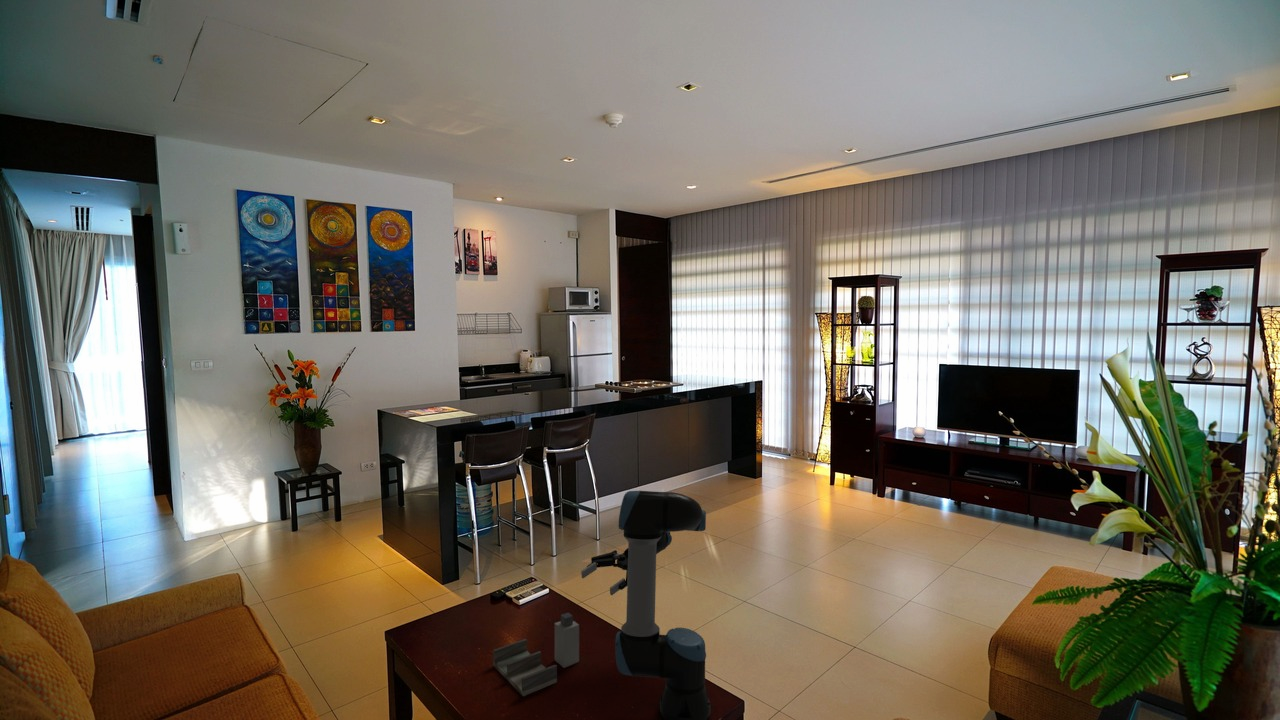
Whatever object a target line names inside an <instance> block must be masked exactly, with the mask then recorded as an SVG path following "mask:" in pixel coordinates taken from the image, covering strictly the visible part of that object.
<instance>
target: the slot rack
mask: <svg viewBox="0 0 1280 720" xmlns="http://www.w3.org/2000/svg"><path fill="white" fill-rule="evenodd" d="M492 656H493V661H492V662H493V663H492V665H493V667H494V668H495V669H496V670H497V671H498V673H500V674H501V675H502V676H503V677H504V678H505V679H506V680H507V681H508V683H509V684H510V685H511V686H513V688H514V689H515V690H516V691H517V692H518V693H519V694H520V695H521V696H522V697H526V696H528V695H530V694H533V693H536V692H537V691H539V690H542V689H544V688H547V687H549V686H551V685H553V684H554V685H555V684H557V682H558V665H557V664H553V665H550V666H548V667H546V666H545V665H543V664H542V652H541V651H540V650H539V651H536V652H533V653H530V652H529V651H528V639H527V638H524V639H520V640H517V641H515V642H512V643H509V644H507V645H504V646H501V647H498V648H495V649H493V655H492Z"/></svg>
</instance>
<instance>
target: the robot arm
mask: <svg viewBox="0 0 1280 720" xmlns="http://www.w3.org/2000/svg"><path fill="white" fill-rule="evenodd" d="M620 506H621V507H620V509H619V515H618V529H619V530H620V531H623V537H624V539H625V540H626V541H627V542H628V544H627V545H628V547H627V548H626V549H624V550H623V553H618V551H617V549H616V550H613V551H610V552H606V553H603V554H599V555H596V556H592V557H591V558H590V560H591V562H590V563H589V564H588V565H586V567H585V568H583V569H582V570H581V579H585V578H586V577H588V576H589V575H591V574H593V573H594V572H595V571H598V570H597V569H598V568H607V567H613V568H619V569H621V570H622V571H626V572H625V573H626V574H625V578H624V577H623V578H622V579H619V581H617V582H616V583H614V584H613V585H612V586H610V587H609V595H610V596H614V595H615V594H616V593H617V592H619V591H622V590H624V589H625V588H626V587H627V588H626V590H627V591H626V618H625V619H626V622H625V623H623V624H622V625H621V627H620V628H621V629H620V631H617V633H616V635H615V641H614V643H615V647H614V650H615V651H614V652H615V661H616V662H615V663H616V667H617V669H618V671H619V673H620V674H622V675H623V676H631V677H632V678H633V677H634V678H635V677H644V678H657V679H660V678H661V679H665V686H664V688H663V692H662V696H661V697H660V700H659V714H660V716H661V717H662V718H663V720H707V719H709V718H710V716H711V701H710V699H709V695H708V692H707V689H706V657H707V652H706V643H705V640H704V637H702V635H700V634H699V633H698V632H696V631H695V630H692V629H690V628H686V627H675V628H670V629H669V630H668V631H667V632H666V634H660V632H661V631H660V627H659V625H658V624H657V623H656V588H657V587H656V585H657V580H656V578H657V555H658V554H659V553H661V552H662V551H665V550H666V549H667V547H669V545H670V544H671V543H672V540H673V537H672V535H671V532H672V533H673V532H682V531H683V532H684V531H688V532H689V531H690V532H691V531H692V532H704V531H706V529H707V528H706V527H707V526H706V524H707V523H706V521H707V511H705V510H704V509H702V506H701V504H700V503H699V502H698V501H696V500H695V499H694V498H691V497H690V496H688V495H685V494H683V493H679V492H672V491H668V492H667V491H651V490H629V491H627V492H625V494H624V495H623V498H622V501H621V505H620ZM709 715H710V716H709ZM708 717H709V718H708Z"/></svg>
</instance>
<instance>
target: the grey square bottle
mask: <svg viewBox="0 0 1280 720" xmlns="http://www.w3.org/2000/svg"><path fill="white" fill-rule="evenodd" d="M554 661H555V662H556V663H558V665H560V667H562V668H563V669H565V668H567V667H570V666H573V665H574V664H577V663H579V661H580V624H579V623H577V622H576V621H574V615H572V614H571V613H569V612H566V613H561V614H560V621H558V622H557V621H556V622H554Z"/></svg>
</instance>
